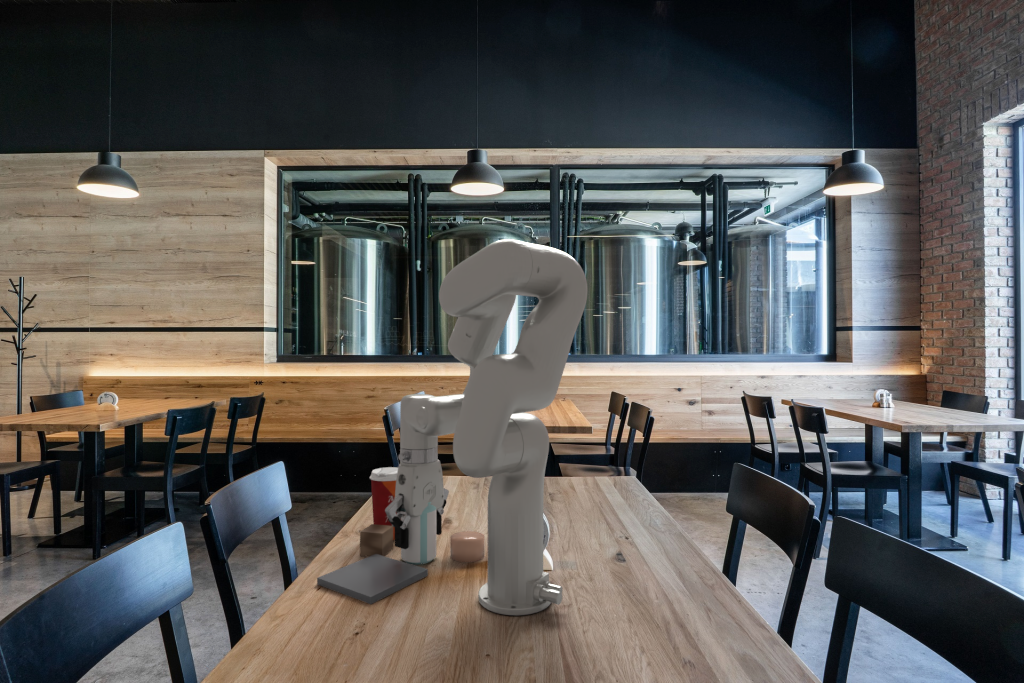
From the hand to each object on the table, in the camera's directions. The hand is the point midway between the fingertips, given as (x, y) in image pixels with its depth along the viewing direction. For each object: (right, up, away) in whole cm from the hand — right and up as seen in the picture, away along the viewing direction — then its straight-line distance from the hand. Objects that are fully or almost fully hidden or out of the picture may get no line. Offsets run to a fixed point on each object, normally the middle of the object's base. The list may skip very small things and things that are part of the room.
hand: (418, 540), depth 112 cm
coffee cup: (-9, -4, +13) cm, 17 cm away
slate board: (-7, -4, -10) cm, 13 cm away
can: (0, -4, 0) cm, 4 cm away
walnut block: (-9, -4, +4) cm, 11 cm away
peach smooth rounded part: (+10, -4, +2) cm, 11 cm away
